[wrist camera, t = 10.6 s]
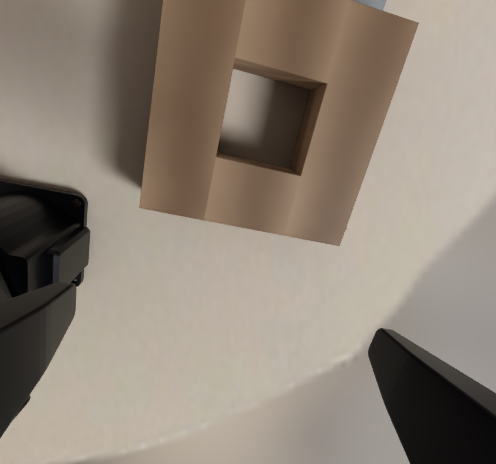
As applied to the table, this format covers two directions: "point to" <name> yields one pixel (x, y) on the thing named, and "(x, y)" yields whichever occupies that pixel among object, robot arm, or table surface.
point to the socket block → (281, 69)
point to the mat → (372, 3)
